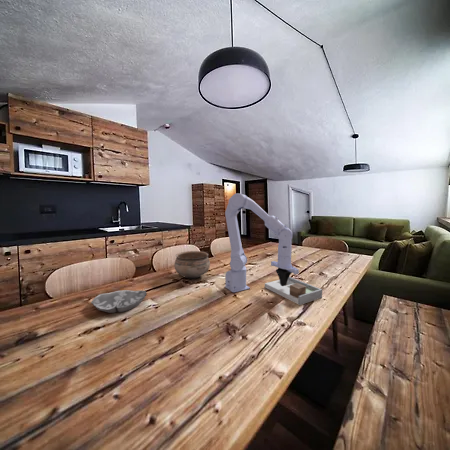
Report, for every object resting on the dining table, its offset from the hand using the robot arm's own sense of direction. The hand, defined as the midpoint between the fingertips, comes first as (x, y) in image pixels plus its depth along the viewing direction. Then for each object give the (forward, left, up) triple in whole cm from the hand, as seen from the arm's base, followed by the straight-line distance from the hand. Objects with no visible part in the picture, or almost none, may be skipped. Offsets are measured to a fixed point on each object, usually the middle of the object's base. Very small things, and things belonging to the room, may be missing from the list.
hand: (283, 285), depth 97 cm
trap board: (+4, -1, -4) cm, 5 cm away
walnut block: (0, -8, -2) cm, 8 cm away
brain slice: (-64, +24, -4) cm, 68 cm away
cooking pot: (-27, +40, -4) cm, 48 cm away
